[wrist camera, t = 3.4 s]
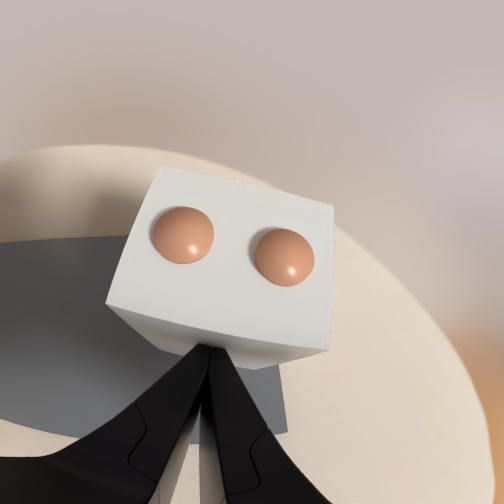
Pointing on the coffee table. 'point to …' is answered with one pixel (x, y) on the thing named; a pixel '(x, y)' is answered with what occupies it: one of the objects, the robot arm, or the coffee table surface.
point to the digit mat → (83, 342)
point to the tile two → (228, 270)
